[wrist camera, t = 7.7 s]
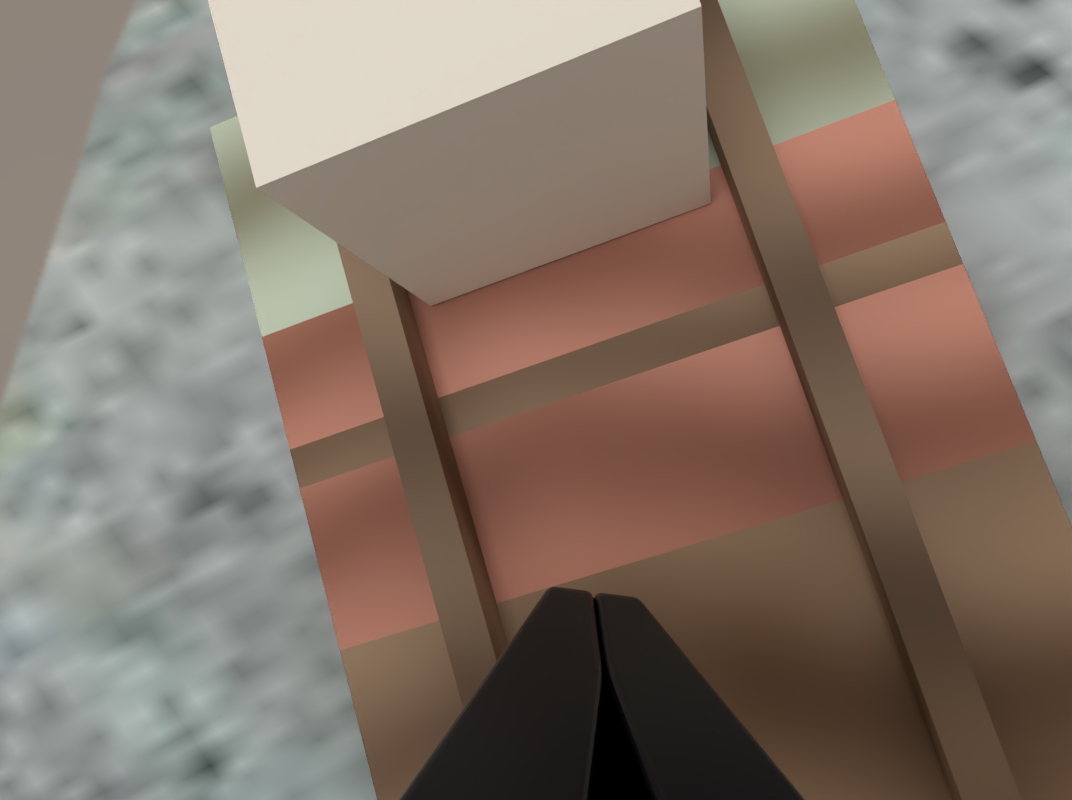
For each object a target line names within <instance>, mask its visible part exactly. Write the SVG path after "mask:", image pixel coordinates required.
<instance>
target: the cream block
mask: <svg viewBox="0 0 1072 800" xmlns="http://www.w3.org/2000/svg"><path fill="white" fill-rule="evenodd" d="M208 2H209V6H210V10H211V14H212V18H213V22H214V26H215V30H216V34H217V37H218V41H219V45H220V49H221V53H222V57H223V61H224V65H225V69H226V72H227V76H228V80H229V84H230V88H231V92H232V96H233V100H234V104H235V108H236V111H237V115H238V119H239V123H240V127H241V131H242V135H243V139H244V143H245V146H246V150H247V154H248V158H249V162H250V166H251V170H252V174H253V178H254V182H255V185H256V188H257V189H259V190H260V191H262V192H263V193H265V194H266V195H267V196H269V197H270V198H272V199H273V200H275V201H276V202H278V203H279V204H281V205H282V206H284V207H285V208H287V209H288V210H290V211H291V212H293V213H294V214H296V215H297V216H299V217H300V218H302V219H303V220H304V221H306V222H307V223H309V224H310V225H312V226H313V227H315V228H316V229H318V230H319V231H321V232H322V233H324V234H325V235H327V236H328V237H330V238H331V239H333V240H334V241H336V242H337V243H338V244H340V245H341V246H343V247H344V248H346V249H347V250H349V251H350V252H352V253H353V254H355V255H356V256H358V257H359V258H361V259H362V260H364V261H365V262H367V263H368V264H370V265H371V266H373V267H374V268H375V269H377V270H378V271H380V272H381V273H383V274H384V275H386V276H387V277H389V278H390V279H392V280H393V281H395V282H396V283H398V284H399V285H401V286H402V287H404V288H405V289H407V290H408V291H409V292H411V293H412V294H414V295H415V296H417V297H418V298H420V299H421V300H423V301H424V302H426V303H427V304H429V305H430V306H433V305H435V304H438V303H441V302H443V301H446V300H449V299H452V298H454V297H457V296H460V295H462V294H465V293H468V292H471V291H473V290H476V289H479V288H481V287H484V286H487V285H490V284H492V283H495V282H498V281H500V280H503V279H506V278H509V277H511V276H514V275H517V274H520V273H522V272H525V271H528V270H530V269H533V268H536V267H539V266H541V265H544V264H547V263H549V262H552V261H555V260H558V259H560V258H563V257H566V256H568V255H571V254H574V253H577V252H579V251H582V250H585V249H588V248H590V247H593V246H596V245H598V244H601V243H604V242H607V241H609V240H612V239H615V238H617V237H620V236H623V235H626V234H628V233H631V232H634V231H636V230H639V229H642V228H645V227H647V226H650V225H653V224H655V223H658V222H661V221H664V220H666V219H669V218H672V217H675V216H677V215H680V214H683V213H685V212H688V211H691V210H694V209H696V208H699V207H702V206H704V205H707V204H710V203H711V195H710V173H709V152H708V131H707V110H706V89H705V67H704V46H703V25H702V6H701V3H700V0H208Z"/></svg>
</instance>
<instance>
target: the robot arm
mask: <svg viewBox="0 0 1072 800" xmlns="http://www.w3.org/2000/svg"><path fill="white" fill-rule="evenodd" d="M399 800H805V799H804V798H803V797H802V796H801V794H800V793H799V792H798V791H797V789H796V788H795V787H794V786H793V785H792V783H791V782H790V781H789V780H788V779H787V777H786V776H785V775H784V774H783V772H782V771H781V770H780V769H779V768H778V766H777V765H776V764H775V763H774V761H773V760H772V759H771V758H770V757H769V755H768V754H767V753H766V752H765V751H764V749H763V748H762V747H761V746H760V744H759V743H758V742H757V741H756V740H755V738H754V737H753V736H752V735H751V734H750V732H749V731H748V730H747V729H746V727H745V726H744V725H743V724H742V723H741V721H740V720H739V719H738V718H737V717H736V715H735V714H734V713H733V712H732V710H731V709H730V708H729V707H728V706H727V704H726V703H725V702H724V701H723V700H722V698H721V697H720V696H719V695H718V693H717V692H716V691H715V690H714V689H713V687H712V686H711V685H710V684H709V682H708V681H707V680H706V679H705V678H704V676H703V675H702V674H701V673H700V672H699V670H698V669H697V668H696V667H695V665H694V664H693V663H692V662H691V661H690V659H689V658H688V657H687V656H686V655H685V653H684V652H683V651H682V650H681V648H680V647H679V646H678V645H677V644H676V642H675V641H674V640H673V639H672V638H671V636H670V635H669V634H668V633H667V631H666V630H665V629H664V628H663V627H662V625H661V624H660V623H659V622H658V621H657V619H656V618H655V617H654V616H653V614H652V613H651V612H650V611H649V610H648V608H647V607H646V606H645V605H644V603H643V602H642V601H641V600H639V599H638V598H636V597H632V596H624V595H616V594H608V593H598V594H596V595H595V597H594V598H593V596H592V594H591V593H590V592H588V591H585V590H578V589H571V588H563V587H555V586H552V587H550V588H549V589H547V590H546V592H545V593H544V594H543V596H542V597H541V599H540V600H539V602H538V603H537V604H536V606H535V607H534V609H533V610H532V611H531V613H530V614H529V616H528V617H527V619H526V620H525V621H524V623H523V624H522V626H521V627H520V629H519V630H518V631H517V633H516V634H515V636H514V637H513V638H512V640H511V641H510V643H509V644H508V646H507V647H506V648H505V650H504V651H503V653H502V654H501V655H500V657H499V658H498V660H497V661H496V663H495V664H494V665H493V667H492V668H491V670H490V671H489V673H488V674H487V675H486V677H485V678H484V680H483V681H482V682H481V684H480V685H479V687H478V688H477V690H476V691H475V692H474V694H473V695H472V697H471V698H470V700H469V701H468V702H467V704H466V705H465V707H464V708H463V709H462V711H461V712H460V714H459V715H458V717H457V718H456V719H455V721H454V722H453V724H452V725H451V727H450V728H449V729H448V731H447V732H446V734H445V735H444V736H443V738H442V739H441V741H440V742H439V744H438V745H437V746H436V748H435V749H434V751H433V752H432V754H431V755H430V756H429V758H428V759H427V761H426V762H425V763H424V765H423V766H422V768H421V769H420V771H419V772H418V773H417V775H416V776H415V778H414V779H413V781H412V782H411V783H410V785H409V786H408V788H407V789H406V790H405V792H404V793H403V795H402V796H401V798H400V799H399Z"/></svg>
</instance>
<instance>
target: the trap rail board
mask: <svg viewBox="0 0 1072 800" xmlns="http://www.w3.org/2000/svg"><path fill="white" fill-rule="evenodd" d="M700 3H701V6H702V25H703V46H704V67H705V89H706V110H707V131H708V152H709V173H710V195H711V203H710V204H707V205H704V206H702V207H699V208H696V209H694V210H691V211H688V212H685V213H683V214H680V215H677V216H675V217H672V218H669V219H666V220H664V221H661V222H658V223H655V224H653V225H650V226H647V227H645V228H642V229H639V230H636V231H634V232H631V233H628V234H626V235H623V236H620V237H617V238H615V239H612V240H609V241H607V242H604V243H601V244H598V245H596V246H593V247H590V248H588V249H585V250H582V251H579V252H577V253H574V254H571V255H568V256H566V257H563V258H560V259H558V260H555V261H552V262H549V263H547V264H544V265H541V266H539V267H536V268H533V269H530V270H528V271H525V272H522V273H520V274H517V275H514V276H511V277H509V278H506V279H503V280H500V281H498V282H495V283H492V284H490V285H487V286H484V287H481V288H479V289H476V290H473V291H471V292H468V293H465V294H462V295H460V296H457V297H454V298H452V299H449V300H446V301H443V302H441V303H438V304H435V305H433V306H430V305H429V304H427V303H426V302H424V301H423V300H421V299H420V298H418V297H417V296H415V295H414V294H412V293H411V292H409V291H408V290H407V289H405V288H404V287H402V286H401V285H399V284H398V283H396V282H395V281H393V280H392V279H390V278H389V277H387V276H386V275H384V274H383V273H381V272H380V271H378V270H377V269H375V268H374V267H373V266H371V265H370V264H368V263H367V262H365V261H364V260H362V259H361V258H359V257H358V256H356V255H355V254H353V253H352V252H350V251H349V250H347V249H346V248H344V247H343V246H341V245H340V244H338V243H337V242H336V241H334V240H333V239H331V238H330V237H328V236H327V235H325V234H324V233H322V232H321V231H319V230H318V229H316V228H315V227H313V226H312V225H310V224H309V223H307V222H306V221H304V220H303V219H302V218H300V217H299V216H297V215H296V214H294V213H293V212H291V211H290V210H288V209H287V208H285V207H284V206H282V205H281V204H279V203H278V202H276V201H275V200H273V199H272V198H270V197H269V196H267V195H266V194H265V193H263V192H262V191H260V190H259V189H257V188H256V185H255V182H254V178H253V174H252V170H251V166H250V162H249V158H248V154H247V150H246V146H245V143H244V139H243V135H242V131H241V127H240V123H239V119H238V116H236V117H234V118H231V119H229V120H226V121H224V122H222V123H219V124H217V125H215V126H212V127H210V131H211V135H212V139H213V143H214V147H215V151H216V155H217V159H218V163H219V167H220V171H221V175H222V179H223V183H224V187H225V191H226V195H227V199H228V203H229V207H230V211H231V215H232V219H233V223H234V227H235V231H236V235H237V239H238V243H239V247H240V251H241V255H242V259H243V263H244V267H245V271H246V275H247V279H248V283H249V287H250V291H251V295H252V299H253V303H254V307H255V311H256V315H257V319H258V323H259V327H260V331H261V335H262V339H263V343H264V347H265V351H266V355H267V359H268V363H269V367H270V371H271V375H272V379H273V383H274V387H275V391H276V395H277V399H278V403H279V407H280V411H281V415H282V419H283V423H284V427H285V431H286V435H287V439H288V443H289V447H290V451H291V455H292V459H293V463H294V467H295V471H296V475H297V479H298V483H299V487H300V491H301V495H302V499H303V503H304V507H305V511H306V515H307V519H308V523H309V527H310V531H311V535H312V539H313V543H314V547H315V551H316V555H317V559H318V563H319V567H320V571H321V575H322V579H323V583H324V587H325V591H326V595H327V599H328V603H329V607H330V611H331V615H332V619H333V623H334V627H335V631H336V635H337V639H338V644H339V648H340V652H341V656H342V660H343V664H344V668H345V672H346V676H347V680H348V684H349V688H350V692H351V696H352V700H353V704H354V708H355V712H356V716H357V720H358V724H359V728H360V732H361V736H362V740H363V744H364V748H365V752H366V756H367V760H368V764H369V768H370V772H371V776H372V780H373V784H374V788H375V792H376V796H377V800H399V799H400V798H401V796H402V795H403V793H404V792H405V790H406V789H407V788H408V786H409V785H410V783H411V782H412V781H413V779H414V778H415V776H416V775H417V773H418V772H419V771H420V769H421V768H422V766H423V765H424V763H425V762H426V761H427V759H428V758H429V756H430V755H431V754H432V752H433V751H434V749H435V748H436V746H437V745H438V744H439V742H440V741H441V739H442V738H443V736H444V735H445V734H446V732H447V731H448V729H449V728H450V727H451V725H452V724H453V722H454V721H455V719H456V718H457V717H458V715H459V714H460V712H461V711H462V709H463V708H464V707H465V705H466V704H467V702H468V701H469V700H470V698H471V697H472V695H473V694H474V692H475V691H476V690H477V688H478V687H479V685H480V684H481V682H482V681H483V680H484V678H485V677H486V675H487V674H488V673H489V671H490V670H491V668H492V667H493V665H494V664H495V663H496V661H497V660H498V658H499V657H500V655H501V654H502V653H503V651H504V650H505V648H506V647H507V646H508V644H509V643H510V641H511V640H512V638H513V637H514V636H515V634H516V633H517V631H518V630H519V629H520V627H521V626H522V624H523V623H524V621H525V620H526V619H527V617H528V616H529V614H530V613H531V611H532V610H533V609H534V607H535V606H536V604H537V603H538V602H539V600H540V599H541V597H542V596H543V594H544V593H545V592H546V590H547V589H549V588H550V587H552V586H555V587H563V588H571V589H578V590H585V591H588V592H590V593H591V594H592V596H593V598H594V597H595V595H596V594H598V593H608V594H616V595H624V596H632V597H636V598H638V599H639V600H641V601H642V602H643V603H644V605H645V606H646V607H647V608H648V610H649V611H650V612H651V613H652V614H653V616H654V617H655V618H656V619H657V621H658V622H659V623H660V624H661V625H662V627H663V628H664V629H665V630H666V631H667V633H668V634H669V635H670V636H671V638H672V639H673V640H674V641H675V642H676V644H677V645H678V646H679V647H680V648H681V650H682V651H683V652H684V653H685V655H686V656H687V657H688V658H689V659H690V661H691V662H692V663H693V664H694V665H695V667H696V668H697V669H698V670H699V672H700V673H701V674H702V675H703V676H704V678H705V679H706V680H707V681H708V682H709V684H710V685H711V686H712V687H713V689H714V690H715V691H716V692H717V693H718V695H719V696H720V697H721V698H722V700H723V701H724V702H725V703H726V704H727V706H728V707H729V708H730V709H731V710H732V712H733V713H734V714H735V715H736V717H737V718H738V719H739V720H740V721H741V723H742V724H743V725H744V726H745V727H746V729H747V730H748V731H749V732H750V734H751V735H752V736H753V737H754V738H755V740H756V741H757V742H758V743H759V744H760V746H761V747H762V748H763V749H764V751H765V752H766V753H767V754H768V755H769V757H770V758H771V759H772V760H773V761H774V763H775V764H776V765H777V766H778V768H779V769H780V770H781V771H782V772H783V774H784V775H785V776H786V777H787V779H788V780H789V781H790V782H791V783H792V785H793V786H794V787H795V788H796V789H797V791H798V792H799V793H800V794H801V796H802V797H803V798H804V799H805V800H1072V527H1071V524H1070V522H1069V519H1068V517H1067V515H1066V512H1065V510H1064V507H1063V505H1062V502H1061V500H1060V498H1059V495H1058V493H1057V490H1056V488H1055V486H1054V483H1053V481H1052V478H1051V476H1050V473H1049V471H1048V469H1047V466H1046V464H1045V461H1044V459H1043V456H1042V454H1041V452H1040V449H1039V447H1038V444H1037V442H1036V440H1035V437H1034V435H1033V432H1032V430H1031V427H1030V425H1029V423H1028V420H1027V418H1026V415H1025V413H1024V410H1023V408H1022V406H1021V403H1020V401H1019V398H1018V396H1017V393H1016V391H1015V389H1014V386H1013V384H1012V381H1011V379H1010V377H1009V374H1008V372H1007V369H1006V367H1005V364H1004V362H1003V360H1002V357H1001V355H1000V352H999V350H998V347H997V345H996V343H995V340H994V338H993V335H992V333H991V331H990V328H989V326H988V323H987V321H986V318H985V316H984V314H983V311H982V309H981V306H980V304H979V301H978V299H977V297H976V294H975V292H974V289H973V287H972V285H971V282H970V280H969V277H968V275H967V272H966V270H965V268H964V265H963V263H962V260H961V258H960V255H959V253H958V251H957V248H956V246H955V243H954V241H953V238H952V236H951V234H950V231H949V229H948V226H947V224H946V222H945V219H944V217H943V214H942V212H941V209H940V207H939V205H938V202H937V200H936V197H935V195H934V192H933V190H932V188H931V185H930V183H929V180H928V178H927V176H926V173H925V171H924V168H923V166H922V163H921V161H920V159H919V156H918V154H917V151H916V149H915V146H914V144H913V142H912V139H911V137H910V134H909V132H908V129H907V127H906V125H905V122H904V120H903V117H902V115H901V113H900V110H899V108H898V105H897V103H896V100H895V98H894V96H893V93H892V91H891V88H890V86H889V83H888V81H887V79H886V76H885V74H884V71H883V69H882V67H881V64H880V62H879V59H878V57H877V54H876V52H875V50H874V47H873V45H872V42H871V40H870V37H869V35H868V33H867V30H866V28H865V25H864V23H863V20H862V18H861V16H860V13H859V11H858V8H857V6H856V4H855V1H854V0H700Z"/></svg>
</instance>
